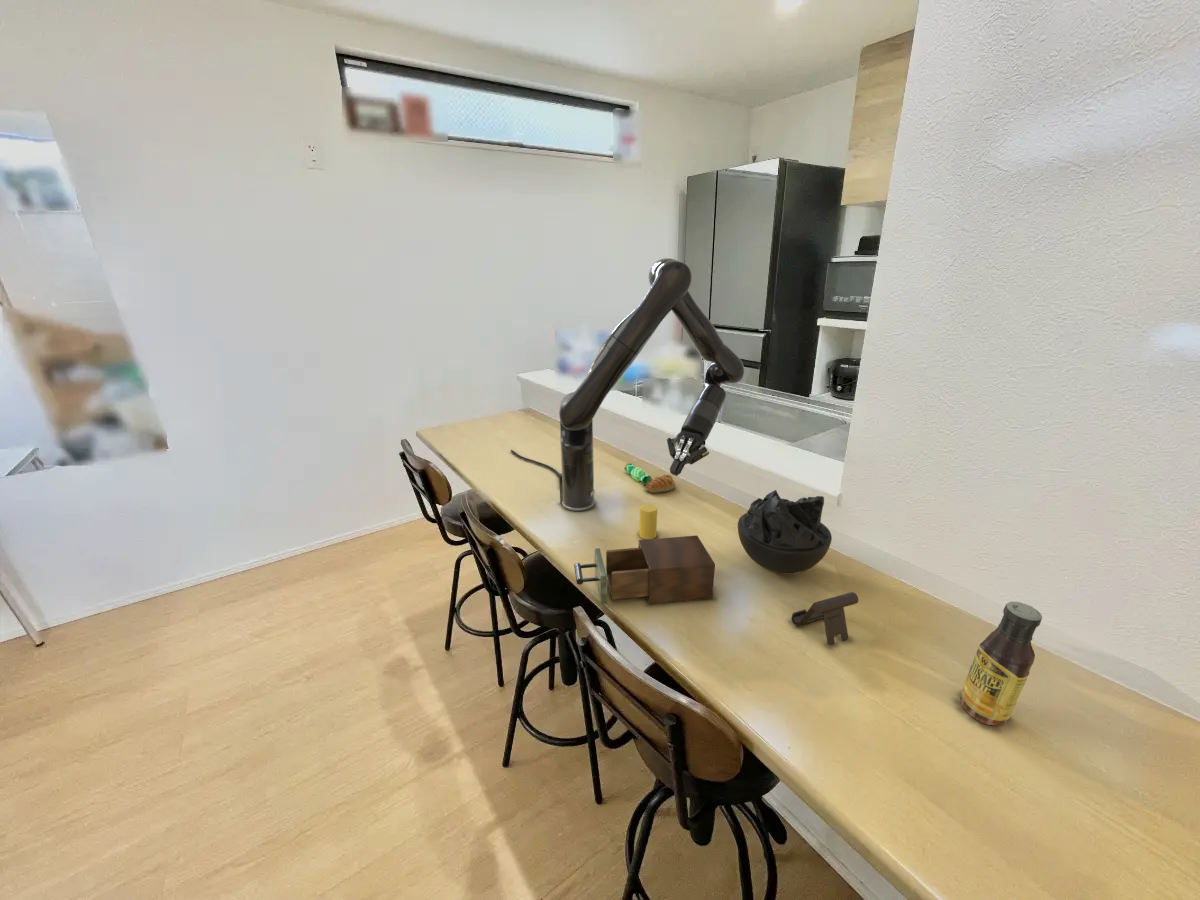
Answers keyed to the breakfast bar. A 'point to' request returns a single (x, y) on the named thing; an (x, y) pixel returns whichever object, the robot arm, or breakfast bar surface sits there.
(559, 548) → the breakfast bar surface
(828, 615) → the tablet stand
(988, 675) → the sauce bottle
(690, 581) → the cabinet
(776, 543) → the coal bowl
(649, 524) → the canister
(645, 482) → the candy
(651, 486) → the pastry
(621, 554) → the drawer
